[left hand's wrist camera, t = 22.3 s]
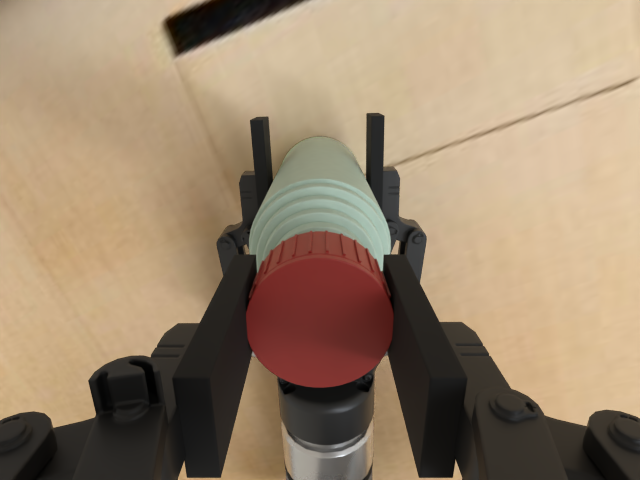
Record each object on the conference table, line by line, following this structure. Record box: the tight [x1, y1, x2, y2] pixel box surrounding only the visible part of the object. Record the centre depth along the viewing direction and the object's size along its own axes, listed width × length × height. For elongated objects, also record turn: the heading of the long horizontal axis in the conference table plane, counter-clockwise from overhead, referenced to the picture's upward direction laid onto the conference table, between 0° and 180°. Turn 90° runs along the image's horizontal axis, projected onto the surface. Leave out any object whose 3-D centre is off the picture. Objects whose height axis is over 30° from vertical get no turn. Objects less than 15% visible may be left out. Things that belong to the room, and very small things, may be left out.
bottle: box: [249, 137, 391, 273], centre depth 23 cm, size 6×6×21 cm
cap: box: [246, 231, 394, 388], centre depth 14 cm, size 5×5×2 cm
